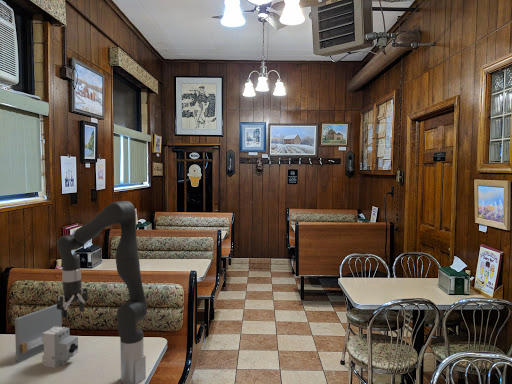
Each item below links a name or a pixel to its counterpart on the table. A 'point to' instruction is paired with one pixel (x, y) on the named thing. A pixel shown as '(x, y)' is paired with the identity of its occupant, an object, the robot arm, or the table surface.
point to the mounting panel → (35, 329)
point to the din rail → (31, 344)
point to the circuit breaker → (58, 346)
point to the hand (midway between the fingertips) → (73, 314)
